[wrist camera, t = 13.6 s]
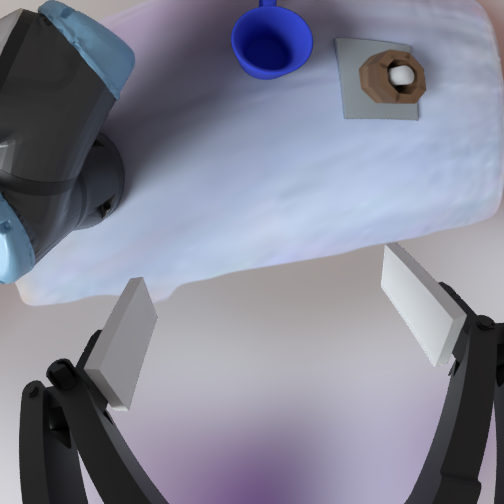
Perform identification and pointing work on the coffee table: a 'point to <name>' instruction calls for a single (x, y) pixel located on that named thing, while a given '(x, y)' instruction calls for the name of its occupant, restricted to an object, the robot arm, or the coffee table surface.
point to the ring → (377, 78)
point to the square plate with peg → (353, 96)
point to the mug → (271, 41)
